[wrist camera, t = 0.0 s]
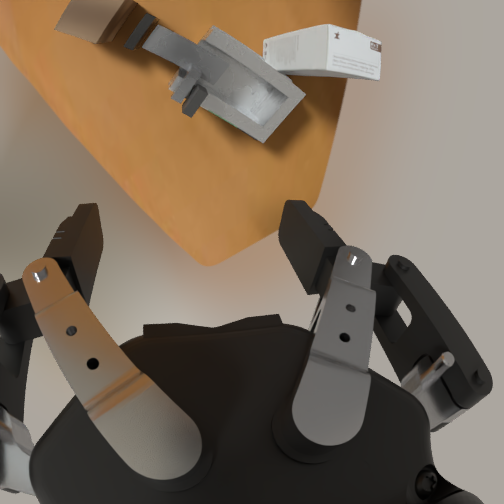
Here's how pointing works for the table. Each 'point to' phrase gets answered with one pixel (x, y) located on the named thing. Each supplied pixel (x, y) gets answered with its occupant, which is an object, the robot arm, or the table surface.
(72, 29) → the walnut block
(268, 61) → the skincare box
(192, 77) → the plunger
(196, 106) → the dark gray block
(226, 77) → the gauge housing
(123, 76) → the table surface
